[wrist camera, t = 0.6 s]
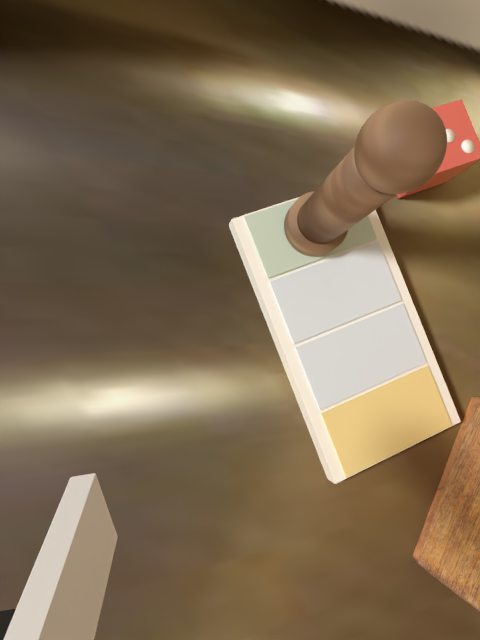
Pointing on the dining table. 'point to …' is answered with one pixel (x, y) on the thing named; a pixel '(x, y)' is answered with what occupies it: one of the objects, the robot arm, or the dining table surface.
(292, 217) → the pawn
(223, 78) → the dining table surface
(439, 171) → the die
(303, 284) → the board
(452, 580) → the wooden box
